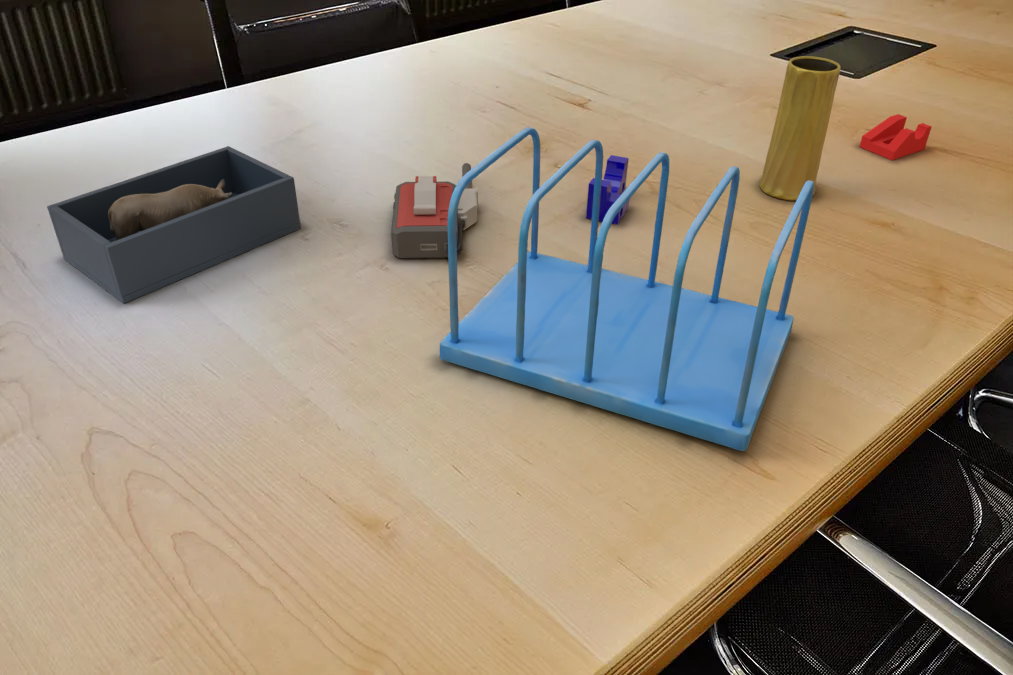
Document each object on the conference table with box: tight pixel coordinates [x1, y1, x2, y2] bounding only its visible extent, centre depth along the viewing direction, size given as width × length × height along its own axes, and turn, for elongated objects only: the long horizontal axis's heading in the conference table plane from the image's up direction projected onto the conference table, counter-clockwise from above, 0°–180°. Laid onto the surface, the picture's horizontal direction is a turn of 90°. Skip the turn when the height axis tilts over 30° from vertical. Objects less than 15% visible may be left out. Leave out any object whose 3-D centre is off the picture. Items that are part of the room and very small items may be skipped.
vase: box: [759, 55, 841, 202], centre depth 93 cm, size 6×6×14 cm
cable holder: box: [585, 154, 630, 226], centre depth 92 cm, size 8×4×4 cm, turn 158°
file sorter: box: [439, 126, 814, 452], centre depth 67 cm, size 25×17×15 cm
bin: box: [46, 145, 302, 304], centre depth 83 cm, size 11×19×6 cm, turn 138°
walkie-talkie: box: [390, 162, 479, 259], centre depth 89 cm, size 9×4×20 cm
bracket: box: [858, 113, 932, 161], centre depth 106 cm, size 6×5×3 cm
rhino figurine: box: [108, 179, 232, 242], centre depth 82 cm, size 4×14×6 cm, turn 119°
